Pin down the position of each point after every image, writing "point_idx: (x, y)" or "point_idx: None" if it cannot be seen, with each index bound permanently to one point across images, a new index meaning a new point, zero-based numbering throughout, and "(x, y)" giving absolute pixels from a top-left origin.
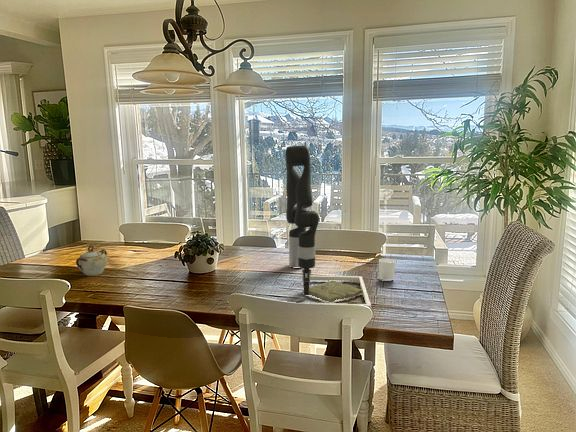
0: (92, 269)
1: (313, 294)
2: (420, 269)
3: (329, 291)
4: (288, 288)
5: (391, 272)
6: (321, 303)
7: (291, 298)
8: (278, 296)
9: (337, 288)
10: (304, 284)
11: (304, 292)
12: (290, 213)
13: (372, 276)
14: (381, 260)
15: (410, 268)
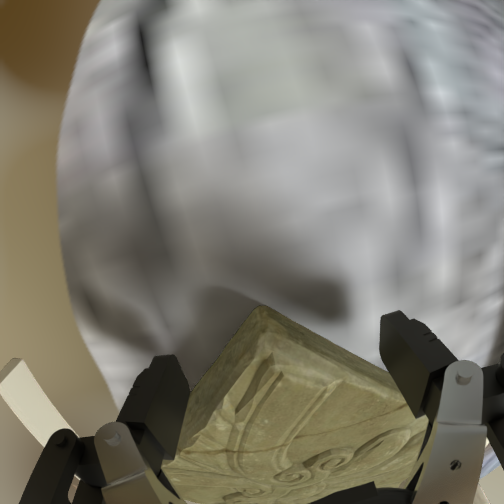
0: None
1: (183, 424)
2: (483, 473)
3: (251, 491)
4: (417, 103)
5: None
6: (43, 442)
7: (118, 211)
8: (140, 58)
9: (322, 497)
10: (53, 457)
11: (152, 374)
12: None
13: (488, 446)
14: (487, 502)
15: (495, 461)
